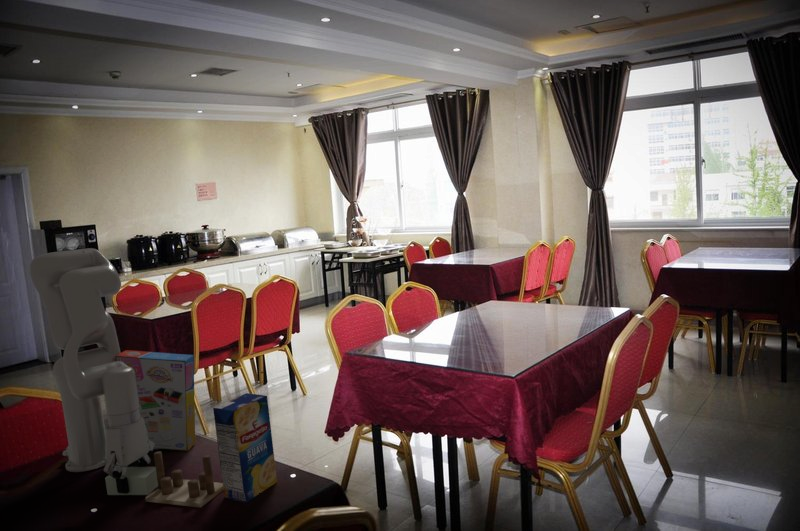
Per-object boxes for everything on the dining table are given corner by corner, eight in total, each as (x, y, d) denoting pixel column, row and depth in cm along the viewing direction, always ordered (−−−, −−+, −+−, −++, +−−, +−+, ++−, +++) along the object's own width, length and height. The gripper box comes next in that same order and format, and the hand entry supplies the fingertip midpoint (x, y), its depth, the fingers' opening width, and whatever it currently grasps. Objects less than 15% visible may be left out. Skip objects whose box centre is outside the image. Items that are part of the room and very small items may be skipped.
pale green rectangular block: (107, 495, 154) (105, 477, 154) (122, 483, 160) (119, 467, 159) (147, 495, 152) (145, 477, 152) (161, 483, 158) (158, 466, 157)
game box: (196, 443, 182) (195, 354, 177) (188, 452, 177) (187, 360, 172) (128, 437, 184) (125, 349, 179) (118, 445, 179) (115, 354, 174)
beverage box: (224, 497, 147) (212, 408, 144) (256, 477, 156) (246, 393, 154) (245, 502, 143) (233, 411, 141) (277, 481, 153) (267, 395, 150)
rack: (145, 501, 149) (139, 461, 147) (173, 482, 158) (168, 444, 157) (201, 507, 143) (195, 466, 142) (227, 487, 152) (222, 448, 151)
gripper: (138, 404, 163) (147, 469, 165) (84, 429, 147) (95, 501, 149) (161, 405, 161) (170, 471, 163) (109, 431, 144) (120, 504, 146)
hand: (134, 485), depth 156 cm, fingers closed on pale green rectangular block, 6 cm apart
